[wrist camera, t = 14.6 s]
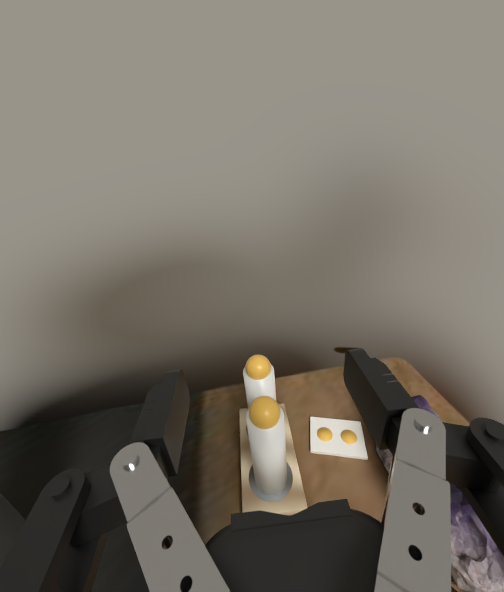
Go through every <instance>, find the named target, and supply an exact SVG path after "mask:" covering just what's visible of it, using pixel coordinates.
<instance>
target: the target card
mask: <svg viewBox="0 0 504 592" xmlns="http://www.w3.org/2000/svg"><path fill="white" fill-rule="evenodd" d="M310 444H311V453H318V454H326V455H333V456H341V457H349V458H357V459H365V460H368V457H367V452H366V447H365V442H364V436H363V431H362V426H361V422H359V421H349V420H339V419H329V418H319V417H310Z"/></svg>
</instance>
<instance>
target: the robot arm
mask: <svg viewBox="0 0 504 592" xmlns="http://www.w3.org/2000/svg"><path fill="white" fill-rule="evenodd" d="M344 381H345V385H346V387H347V389H348V391H349V393H350V395H351V397H352V399H353V401H354V402H355V404H356V406H357V408H358V410H359V412H360V414H361V416H362V418H363V420H364V421H365V423H366V425H367V427H368V429H369V431H370V433H371V435H372V437H373V439H374V440H375V442H376V444H377V446H378V448H379V450H386V449H389V450H390V452H391V454H392V455H393V457H392V461H391V467H390V472H389V478H388V484H387V489H386V495H385V500H384V506H383V510H382V515H381V520H380V522H379V521H378V520H376V519H375V518H373V517H371V516H370V515H367V514H365V513H363V512H360V511H357V510H354V509H350V507H349V504H348V501H347V499H342V500H334V501H326V502H319V503H317V504H314V505H312V506H310V507H308V508H306V509H304V510H302V511H300V512H298V513H296V514H294V515H283V514H277V513H272V512H266V511H261V510H258V511H251V512H243V513H235V514H231V524H230V525H228V526H226V527H225V528H223V529H222V530H220V531H219V532H218V533H216V534H215V535H214V536H213V537H212V538H211V539H210V540H209V541H208V542H207V544H206V545H204V543H203V542H202V540H201V538H200V536H199V535H198V533H197V531H196V529H195V527H194V526H193V524H192V522H191V520H190V518H189V517H188V515H187V513H186V511H185V509H184V508H183V506H182V504H181V502H180V500H179V499H178V497H177V495H176V493H175V491H174V490H173V488H172V487H170V485H169V483H168V481H167V480H168V476H175V475H177V472H178V466H179V461H180V455H181V450H182V444H183V438H184V433H185V427H186V422H187V416H188V411H189V405H190V396H189V391H188V387H187V383H186V380H185V376H184V372H183V370H174V371H167V372H166V373H165V375H164V378H163V381H162V383H158V384H155V385H154V386H153V387H152V388H151V390H150V391H149V392H148V393H147V396H146V399H145V401H144V404H143V407H142V409H141V413H140V415H139V417H138V420H137V423H136V425H135V428H134V430H133V433H132V436H131V438H130V441H129V444H128V446H126V447H124V448H123V449H122V450H120V451H119V452H118V453H117V454H116V456H115V457H114V458H113V460H112V462H111V463H110V464H108V465H106V466H103V467H101V468H99V469H96V470H94V471H92V472H89V473H87V474H84V472H83V471H82V470H81V469H78V468H71V469H68V470H65V471H63V472H61V473H59V474H58V475H56V476H55V477H54V478H52V479H51V480H50V481H49V482H48V483H47V484H46V486H45V487H44V488H43V490H42V491H41V493H40V495H39V496H38V498H37V500H36V502H35V504H34V506H33V508H32V509H31V511H30V513H29V515H28V517H27V519H26V520H25V519H24V518H23V517H22V516H21V515H20V514H19V513H18V511H17V510H16V509H15V508H14V507H13V506H12V505H11V504H10V503H9V502H8V501H7V500H6V499H5V497H4V496H3V495H2V494H1V493H0V592H91V589H92V585H93V582H94V579H95V575H96V572H97V568H98V565H99V562H100V558H101V555H102V551H103V548H104V545H105V541H106V538H107V534H108V532H109V531H111V530H112V529H114V528H116V527H118V526H120V525H122V524H124V523H126V522H127V528H128V531H129V534H130V537H131V540H132V543H133V546H134V548H135V551H136V554H137V557H138V560H139V562H140V565H141V568H142V571H143V574H144V577H145V579H146V582H147V585H148V588H149V591H150V592H457V591H456V590H455V589H454V588H453V587H452V586H451V510H450V484H452V485H457V486H458V487H459V489H460V490H461V492H462V493H463V495H464V496H465V498H466V500H467V501H468V503H469V504H470V506H471V507H472V509H473V510H474V512H475V513H476V515H477V516H478V518H479V519H480V521H481V523H482V524H483V526H484V527H485V529H486V530H487V532H488V533H489V535H490V536H491V538H492V539H493V541H494V542H495V544H496V545H497V547H498V549H499V550H500V552H501V553H502V555H503V556H504V425H503V424H501V423H499V422H497V421H494V420H491V419H487V418H476V419H474V420H472V421H471V423H470V425H469V427H468V426H462V425H455V424H449V423H444V422H441V420H440V419H439V418H438V417H436V416H435V415H434V414H432V413H430V412H428V411H426V410H423V409H420V408H419V407H418V405H417V404H416V403H415V402H414V400H413V399H412V398H411V397H410V395H409V394H408V393H407V391H406V390H405V389H404V388H403V386H402V385H401V384H400V383H399V382H398V381H397V379H396V377H395V376H394V375H392V372H391V371H390V370H389V369H388V367H387V366H386V365H385V364H384V363H382V362H381V361H379V360H378V359H376V358H371V359H370V357H369V356H368V355H367V353H366V352H365V351H364V350H363V349H354V350H347V351H346V353H345V363H344Z"/></svg>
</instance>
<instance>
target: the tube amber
mask: <svg viewBox="0 0 504 592" xmlns="http://www.w3.org/2000/svg"><path fill="white" fill-rule="evenodd" d="M246 422H247V429H248V436H249V442H250V449H251V456H252V463H253V470H254V477H255V482H256V485H257V487H258V489H259V490H260V491H261V492H263V493H264V494H267V495H275V494H278V493H280V492H281V491H282V490H283V489H284V488H285V486H286V483H287V463H286V444H285V424H284V413H283V410H282V409H281V407H280V406H279V405H278V403H277V402H276V401H275V400H274V399H273V398H271V397H269V396H260V397H257V398H256V399H255V400H253V402H252V403H251V405H250V408H249V409H248V411H247V414H246Z"/></svg>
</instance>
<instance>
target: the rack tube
mask: <svg viewBox="0 0 504 592" xmlns="http://www.w3.org/2000/svg"><path fill="white" fill-rule="evenodd" d="M243 376H244V383H245V390H246V397H247V404H248V409H249V408H250V405H251V403H252V402H253V400H255V399H256V398H257V397H260V396H269V397H271V398H273V399H274V400H275V401H276V391H275V377H274V368H273V366H272V365H271V364H270V362H269V360H268V359H267V358H266V357H264V356H262V355H254V356H252V357H250V359H248V361H247V363H246V367H245V368H244V370H243Z"/></svg>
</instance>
